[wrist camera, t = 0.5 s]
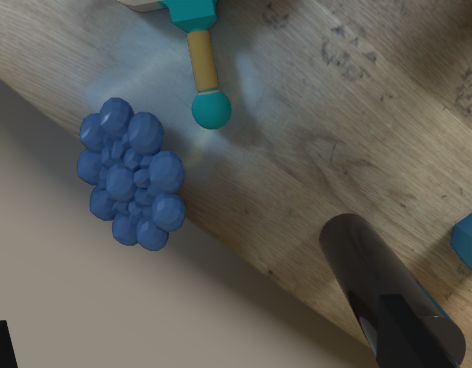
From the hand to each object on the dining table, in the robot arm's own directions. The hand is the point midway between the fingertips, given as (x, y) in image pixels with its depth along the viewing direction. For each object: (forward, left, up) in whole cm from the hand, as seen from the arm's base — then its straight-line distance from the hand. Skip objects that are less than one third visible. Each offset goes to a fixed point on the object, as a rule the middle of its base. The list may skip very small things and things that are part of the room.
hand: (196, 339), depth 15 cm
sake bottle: (+7, +12, -23) cm, 27 cm away
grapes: (-6, -9, -22) cm, 24 cm away
